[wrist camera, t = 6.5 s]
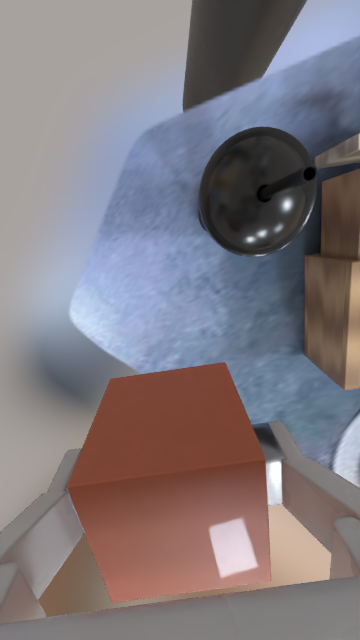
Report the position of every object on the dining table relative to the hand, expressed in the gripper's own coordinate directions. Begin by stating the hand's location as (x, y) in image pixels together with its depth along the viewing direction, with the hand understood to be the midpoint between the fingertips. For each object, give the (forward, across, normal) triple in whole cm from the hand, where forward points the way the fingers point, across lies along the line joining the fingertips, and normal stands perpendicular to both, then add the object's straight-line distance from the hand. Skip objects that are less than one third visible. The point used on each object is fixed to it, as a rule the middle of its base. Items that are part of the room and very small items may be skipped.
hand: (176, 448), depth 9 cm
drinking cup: (+25, -7, -8) cm, 27 cm away
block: (+2, 0, 0) cm, 2 cm away
